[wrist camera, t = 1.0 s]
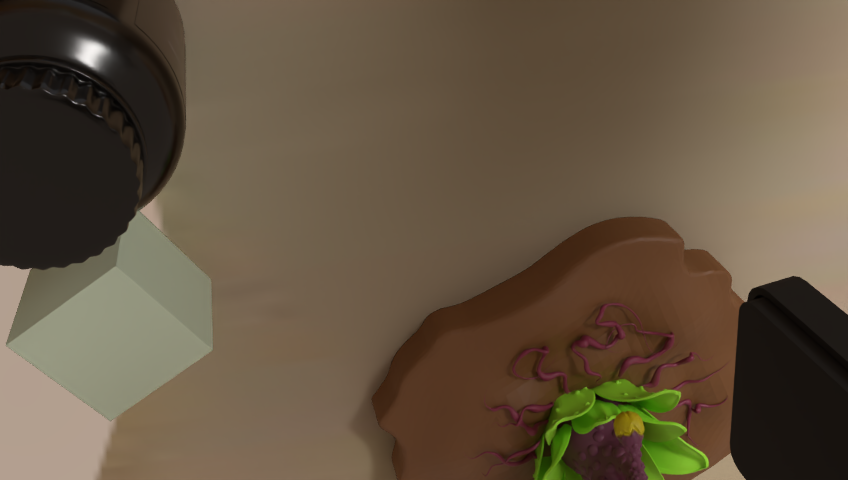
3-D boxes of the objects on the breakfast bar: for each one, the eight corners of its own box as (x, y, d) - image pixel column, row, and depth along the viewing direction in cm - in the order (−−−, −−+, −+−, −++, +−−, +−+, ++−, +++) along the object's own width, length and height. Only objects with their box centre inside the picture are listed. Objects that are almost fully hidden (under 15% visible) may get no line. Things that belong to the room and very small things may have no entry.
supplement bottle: (-13, 116, 29) (-125, 306, 19) (-33, -85, 26) (-181, 16, 16) (186, 128, 31) (180, 307, 21) (191, -56, 28) (186, 50, 18)
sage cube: (127, 198, 32) (116, 265, 28) (211, 278, 35) (212, 350, 30) (30, 269, 32) (5, 345, 28) (120, 342, 35) (110, 421, 31)
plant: (476, 566, 50) (540, 754, 40) (320, 366, 39) (358, 561, 29) (767, 414, 49) (901, 571, 39) (690, 166, 38) (851, 301, 28)
